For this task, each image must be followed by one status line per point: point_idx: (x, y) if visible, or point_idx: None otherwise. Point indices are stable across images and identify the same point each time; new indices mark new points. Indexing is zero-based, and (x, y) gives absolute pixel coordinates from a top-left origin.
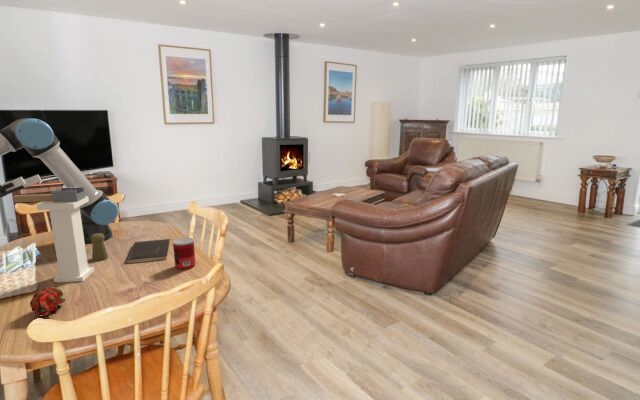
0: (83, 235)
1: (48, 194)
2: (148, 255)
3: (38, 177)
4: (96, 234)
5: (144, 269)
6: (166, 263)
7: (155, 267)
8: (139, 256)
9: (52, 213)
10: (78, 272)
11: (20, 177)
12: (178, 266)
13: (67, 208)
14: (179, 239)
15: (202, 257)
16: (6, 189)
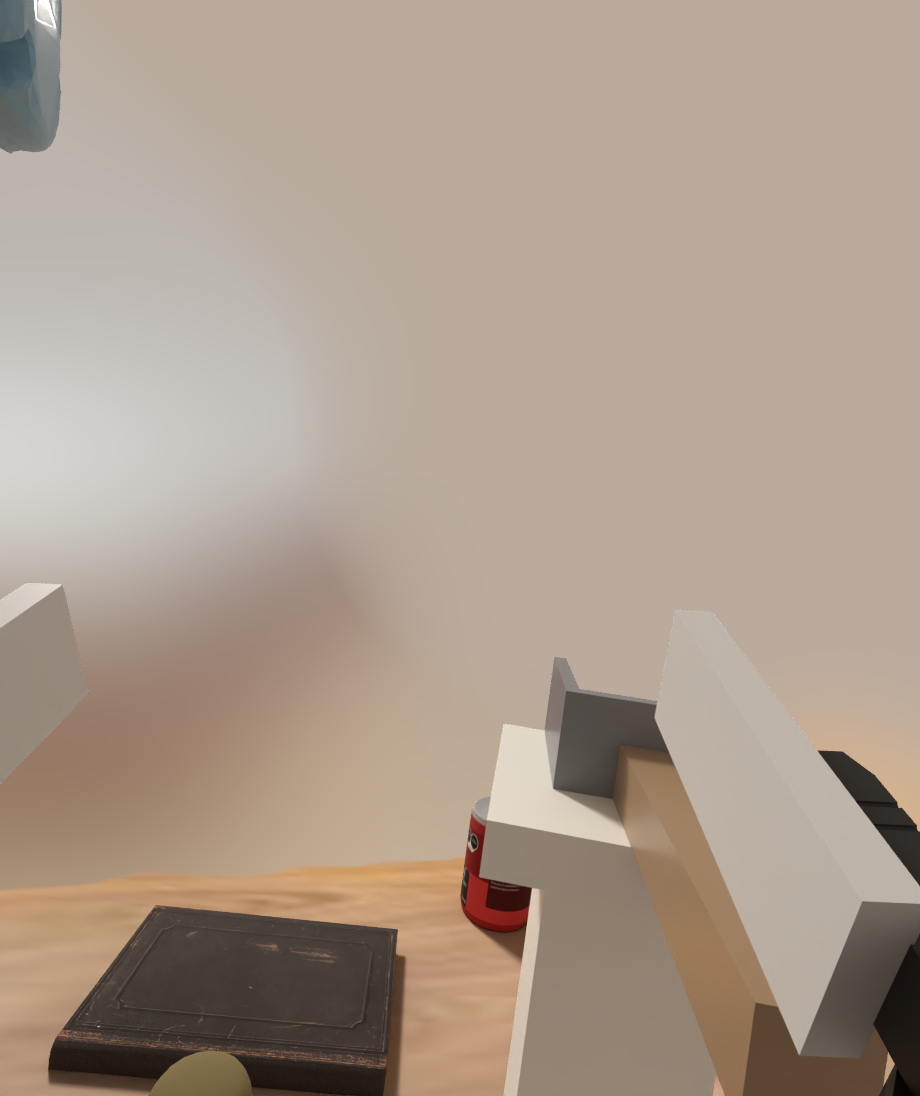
0: (511, 1042)
1: (654, 775)
2: (367, 983)
3: (69, 638)
4: (215, 1080)
5: (496, 1022)
6: (445, 952)
7: (481, 986)
8: (363, 1016)
9: None
10: None
11: (711, 621)
12: (526, 914)
13: None
14: (485, 817)
15: (421, 869)
16: (856, 1004)
